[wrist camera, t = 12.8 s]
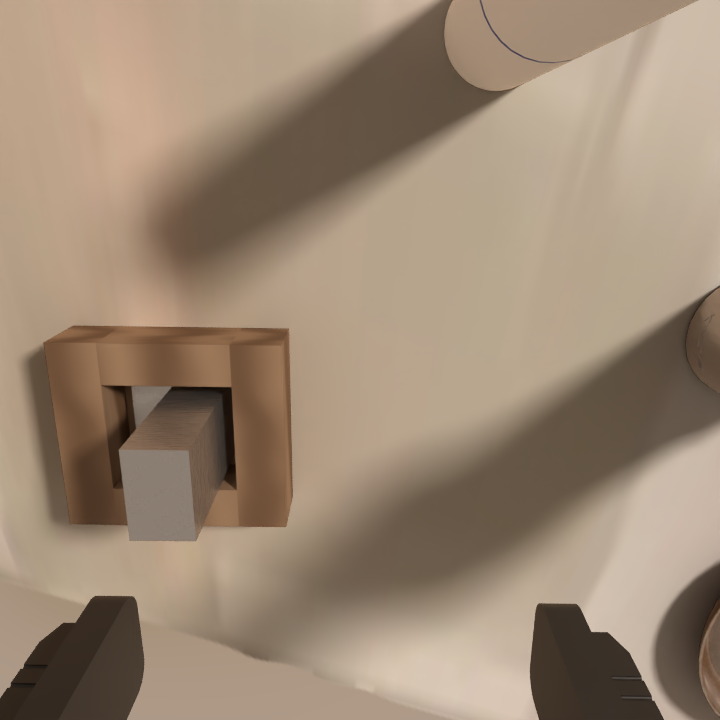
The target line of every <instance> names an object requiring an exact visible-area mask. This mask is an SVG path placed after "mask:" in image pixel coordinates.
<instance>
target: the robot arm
mask: <svg viewBox="0 0 720 720" xmlns="http://www.w3.org/2000/svg"><path fill="white" fill-rule="evenodd" d="M686 351H687V357H688V361H689V363H690V365H691V368H692V370H693V371H694V373H695V374H696V375H697V377H698V378H699V379H700V380H701V381H702V382H704V383H705V384H706V385H708V386H709V387H710V388H712V389H713V390H715V391H716V392H718V393H720V287H719V288H718V289H716V290H715V291H714V292H713V293H712V294H711V295H709V296H708V297H707V298H706V299H705V300H704V302H703V303H702V304H701V305H700V307H699V308H698V309H697V311H696V313H695V315H694V317H693V318H692V320H691V322H690V326H689V329H688V333H687V340H686ZM143 672H144V654H143V647H142V638H141V630H140V623H139V615H138V607H137V602H136V600H135V598H134V597H132V596H95V597H93V598H92V599H91V600H90V602H89V603H88V605H87V606H86V608H85V609H84V611H83V612H82V614H81V615H80V617H79V618H78V620H77V622H76V623H63V624H61V625H60V626H59V627H58V628H56V629H55V630H54V631H53V632H51V633H50V634H49V635H48V636H46V637H45V638H44V639H43V640H41V641H40V642H39V644H38V645H37V646H36V648H35V649H34V651H33V652H32V654H31V655H30V656H29V658H28V659H27V661H26V662H25V664H24V668H23V669H20V671H19V672H18V674H17V675H16V676H15V678H14V679H13V681H12V682H11V687H10V688H7V689H6V691H5V692H4V694H3V695H2V696H1V698H0V720H127V717H128V715H129V713H130V711H131V708H132V706H133V704H134V702H135V699H136V697H137V695H138V693H139V690H140V686H141V683H142V678H143ZM530 681H531V690H532V696H533V700H534V704H535V707H536V711H537V714H538V717H539V720H664V719H663V717H662V715H661V713H660V711H659V709H658V707H657V705H656V703H655V701H652V696H651V694H650V692H649V690H648V688H647V686H646V684H645V682H644V681H642V679H641V675H640V673H639V671H638V669H637V667H636V665H635V663H634V661H633V659H632V657H631V655H630V653H629V652H628V651H627V650H626V649H625V648H624V647H623V646H622V645H620V644H619V643H618V642H617V641H616V640H615V639H614V638H613V637H612V636H611V635H610V634H609V633H608V632H591V630H590V628H589V626H588V624H587V622H586V620H585V617H584V615H583V613H582V611H581V609H580V607H579V606H578V605H577V604H542V603H539V604H538V605H537V607H536V613H535V622H534V632H533V642H532V652H531V662H530Z"/></svg>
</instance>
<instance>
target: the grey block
mask: <svg viewBox="0 0 720 720" xmlns="http://www.w3.org/2000/svg"><path fill="white" fill-rule="evenodd" d="M131 388H132V397H133V406H134V415H135V424H136V430H135V431H134V432H133V434H132V435H131V436H130V437H129V438H128V439H127V441H126V442H125V443H124V444H123V445H122V447H121V448H120V449H119V457H120V465H121V473H122V481H123V490H124V498H125V506H126V514H127V523H128V531H129V539H130V541H196V540H197V538H198V536H199V534H200V531H201V529H202V527H203V524H204V522H205V520H206V518H207V515H208V513H209V511H210V508H211V506H212V504H213V502H214V499H215V497H216V495H217V492H218V490H219V488H220V486H221V483H222V481H223V479H224V477H225V474H226V472H227V470H228V467H229V465H230V463H231V461H232V458H233V456H234V454H235V443H234V424H233V407H232V390H231V387H188V386H131Z"/></svg>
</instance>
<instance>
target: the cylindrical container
mask: <svg viewBox="0 0 720 720" xmlns="http://www.w3.org/2000/svg"><path fill="white" fill-rule="evenodd" d="M696 1H698V0H453V1H452V3H451V5H450V7H449V9H448V13H447V16H446V20H445V28H444V39H445V47H446V51H447V54H448V57H449V60H450V62H451V63H452V65H453V67H454V69H455V70H456V71H457V72H458V74H459V75H460V76H461V77H462V78H463V79H464V80H466V81H467V82H468V83H470V84H472V85H473V86H475V87H477V88H481V89H484V90H488V91H502V90H508V89H512V88H514V87H517V86H519V85H522V84H524V83H526V82H528V81H530V80H532V79H534V78H536V77H538V76H540V75H543V74H545V73H547V72H549V71H551V70H553V69H555V68H557V67H559V66H561V65H564V64H566V63H568V62H570V61H572V60H574V59H576V58H578V57H580V56H582V55H584V54H587V53H589V52H591V51H593V50H595V49H597V48H599V47H601V46H603V45H606V44H608V43H610V42H612V41H614V40H616V39H618V38H620V37H622V36H624V35H627V34H629V33H631V32H633V31H635V30H637V29H639V28H641V27H643V26H645V25H648V24H650V23H652V22H654V21H656V20H658V19H660V18H662V17H664V16H666V15H668V14H671V13H673V12H675V11H677V10H679V9H681V8H683V7H685V6H687V5H689V4H692V3H694V2H696Z"/></svg>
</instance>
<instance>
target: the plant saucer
mask: <svg viewBox="0 0 720 720" xmlns="http://www.w3.org/2000/svg"><path fill="white" fill-rule="evenodd" d="M699 677H700V683H701V687H702V690H703V693H704V695H705V697H706V699H707V701H708V703H709V704H710V706H711V707H712V709H713V710H714V711H715V713H716V714H717V715H718V716H719V717H720V598H719V600H718V601H717V603H716V604H715V606H714V607H713V609H712V611H711V613H710V615H709V617H708V619H707V622H706V624H705V627H704V630H703V634H702V638H701V642H700V648H699Z"/></svg>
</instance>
